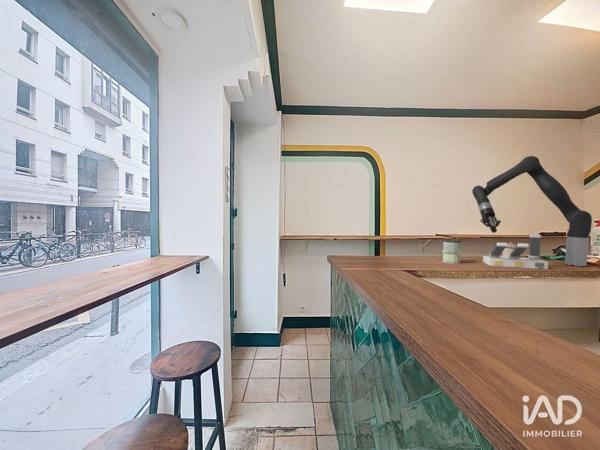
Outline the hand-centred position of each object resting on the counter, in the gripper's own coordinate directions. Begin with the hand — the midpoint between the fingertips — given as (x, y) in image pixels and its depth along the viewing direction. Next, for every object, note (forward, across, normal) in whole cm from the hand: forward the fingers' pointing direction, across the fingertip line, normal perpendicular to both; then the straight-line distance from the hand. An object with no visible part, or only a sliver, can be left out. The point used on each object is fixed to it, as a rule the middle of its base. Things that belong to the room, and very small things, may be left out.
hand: (494, 232), depth 171 cm
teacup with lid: (+8, +20, +17) cm, 28 cm away
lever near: (+19, +15, -3) cm, 25 cm away
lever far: (+16, -3, +3) cm, 17 cm away
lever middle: (+17, +6, 0) cm, 18 cm away
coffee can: (+19, -26, +12) cm, 35 cm away
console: (+21, +6, +2) cm, 22 cm away
